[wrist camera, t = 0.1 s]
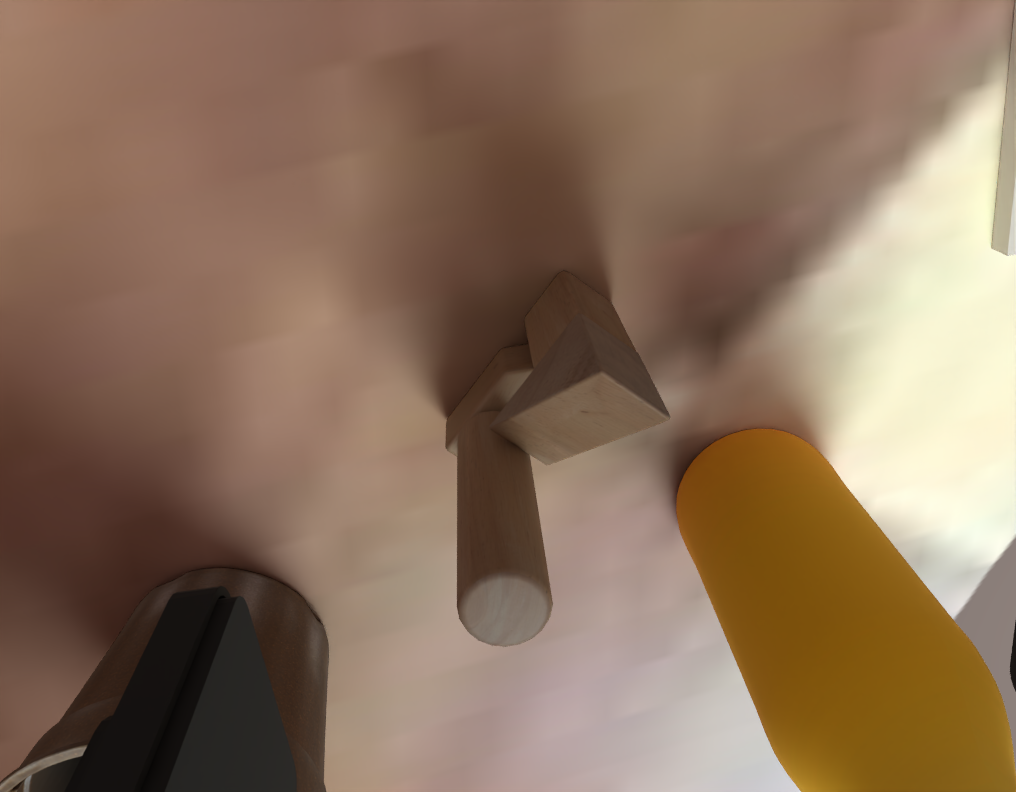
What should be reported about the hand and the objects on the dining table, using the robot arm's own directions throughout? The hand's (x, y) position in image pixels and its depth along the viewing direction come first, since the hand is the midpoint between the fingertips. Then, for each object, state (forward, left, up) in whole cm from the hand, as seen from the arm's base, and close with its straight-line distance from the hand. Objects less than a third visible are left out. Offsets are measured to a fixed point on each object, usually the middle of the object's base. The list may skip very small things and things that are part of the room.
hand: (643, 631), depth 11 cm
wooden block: (+11, 0, -37) cm, 39 cm away
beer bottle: (+21, +12, -37) cm, 44 cm away
